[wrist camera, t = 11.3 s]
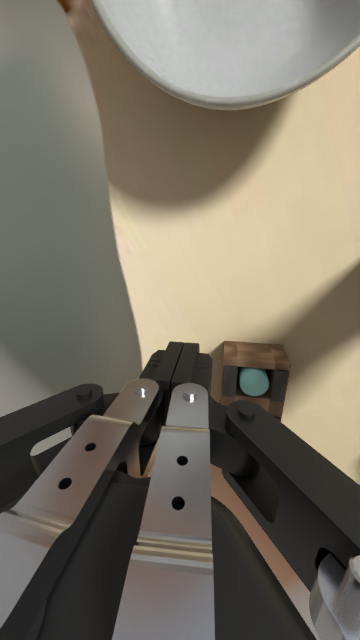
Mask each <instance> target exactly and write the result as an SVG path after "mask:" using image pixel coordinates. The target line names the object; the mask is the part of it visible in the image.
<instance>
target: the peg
mask: <svg viewBox="0 0 360 640" xmlns="http://www.w3.org/2000/svg"><path fill="white" fill-rule="evenodd" d="M238 368H239V379H240V387H241V389H242V391H243V392H244V393H246V394H248V395H251V396H259V395H262V394H264V393H265V392H266V391H267V389H268V387H269V381H268V378H267V374H266V370H265V369H263V368H251V367H240V366H238Z"/></svg>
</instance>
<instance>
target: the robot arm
mask: <svg viewBox="0 0 360 640" xmlns="http://www.w3.org/2000/svg"><path fill="white" fill-rule="evenodd" d="M211 377H212V358H211V357H210V355H209V354H204V353H199V343H184V342H171V341H170V342H169V344H168V346H167V348H166V350H158V351H157V352H155V353H154V354H152V356H151V358H150V360H149V361H148V363H147V366H146V367H145V368H144V370H143V372H142V374H141V375H140V377H139V379H136V380H133V381H131V382H129V383H128V384H127V385H126V386H125V387H124V388H123V389H122V391H121V392H120V393H114V394H106V395H105V394H104V395H103V389H102V387H101V386H99V385H96V384H83V385H79V386H77V387H74V388H72V389H69V390H67V391H64V392H62V393H59V394H57V395H54V396H52V397H50V398H47V399H44V400H42V401H40V402H37V403H35V404H32V405H30V406H27V407H25V408H22V409H20V410H17V411H15V412H12V413H10V414H7V415H5V416H3V417H0V640H316V638H315V636H314V635H313V634H312V632H311V630H310V629H309V627H308V626H307V624H306V623H305V621H304V620H303V618H302V617H301V615H300V613H299V612H298V610H297V609H296V607H295V606H294V604H293V603H292V602H291V600H290V598H289V596H288V595H287V593H286V592H285V590H284V589H283V587H282V586H281V584H280V583H279V581H278V580H277V578H276V576H275V575H274V573H273V572H272V570H271V569H270V567H269V566H268V564H267V563H266V561H265V560H264V558H263V556H262V555H261V553H260V552H259V550H258V549H257V547H256V546H255V544H254V543H253V541H252V540H251V538H250V536H249V535H248V533H247V532H246V530H245V529H244V527H243V526H242V524H241V523H240V521H239V520H238V519H237V518H236V517H235V515H234V514H233V513H232V512H231V511H230V510H229V509H228V508H227V507H226V506H225V505H223V504H222V503H221V502H219V501H218V500H217V499H215V498H214V497H212V496H211V475H210V463H211V464H213V465H215V466H217V467H219V468H221V469H222V474H223V476H224V478H225V479H226V481H227V482H228V484H229V485H230V486H231V488H232V489H233V490H234V492H235V493H236V494H237V496H238V497H239V498H240V499H241V501H242V502H243V503H244V505H245V506H246V508H247V509H248V510H249V511H250V513H251V514H252V515H253V517H254V518H255V519H256V521H257V522H258V523H259V525H260V526H261V527H262V529H263V530H264V531H265V533H266V534H267V535H268V537H269V538H270V539H271V541H272V542H273V543H274V545H275V546H276V547H277V549H278V550H279V551H280V553H281V554H282V555H283V557H284V558H285V559H286V561H287V562H288V563H289V565H290V566H291V567H292V569H293V570H294V571H295V573H296V574H297V575H298V577H299V578H300V579H301V581H302V582H303V583H304V584H305V586H306V587H307V589H308V590H309V591H310V598H309V609H310V615H311V619H312V622H313V625H314V628H315V630H316V632H317V634H318V636H319V638H320V640H360V485H358V484H357V483H356V482H355V481H353V480H352V479H351V478H350V477H348V476H347V475H346V474H345V473H343V472H342V471H341V470H340V469H338V468H337V467H336V466H335V465H333V464H332V463H331V462H330V461H328V460H327V459H326V458H325V457H323V456H322V455H321V454H320V453H318V452H317V451H316V450H315V449H313V448H312V447H311V446H310V445H308V444H307V443H306V442H305V441H303V440H302V439H301V438H300V437H298V436H297V435H296V434H295V433H293V432H292V431H291V430H290V429H288V428H287V427H286V426H285V425H284V424H282V423H281V422H280V421H279V420H277V419H276V418H275V417H274V416H272V415H271V414H270V413H269V412H267V411H266V410H265V409H264V408H262V407H261V406H260V405H258V404H256V403H254V402H251V401H246V400H238V401H234V402H232V403H230V404H229V405H228V406H225V405H222V404H220V403H218V402H216V401H215V400H214V399H213V398H212V397H211V395H210V391H211ZM68 427H71V433H72V437H70V438H68V439H67V440H65V441H63V442H61V443H59V444H57V445H55V446H53V447H51V448H50V449H47V450H46V451H44V452H42V453H40V454H38V455H36V456H30V452H31V449H32V448H33V446H34V445H35V444H36V443H38V442H40V441H41V440H44V439H46V438H47V437H50V436H52V435H54V434H56V433H58V432H60V431H62V430H64V429H66V428H68ZM154 459H155V462H154V465H153V470H152V475H151V477H148V478H147V476H148V474H149V471H150V469H151V466H152V464H153V461H154Z"/></svg>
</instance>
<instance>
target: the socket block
mask: <svg viewBox="0 0 360 640" xmlns="http://www.w3.org/2000/svg"><path fill="white" fill-rule="evenodd" d="M238 366H240V367H251V368H263V369H265V370H266V374H267V378H268V381H269V387H268V389H267V391H266V392H265V393H264V394H262V395H259V396H251V395H248V394H246V393H244V392H243V391H242V389H241V387H240V379H239V374H237V371H238ZM290 366H291V364H290V362H289V360H288V357H287V355H286V353H285V351H284V349H283V346H282V345H274V344H260V343H246V342H232V341H224V351H223V366H222V381H221V396H220V404H222V405H225V406H228V405H229V404H230V403H232V402H234V401H238V400H246V401H251V402H254V403H256V404H258V405H260V406H261V407H262V408H264V409H265V410H266V411H267V412H269V413H270V414H271V415H272V416H274V417H275V418H276V419H277V420H279V421H280V422H281V417H282V411H283V406H284V400H285V394H286V389H287V383H288V377H289V372H290Z"/></svg>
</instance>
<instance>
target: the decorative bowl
mask: <svg viewBox="0 0 360 640" xmlns="http://www.w3.org/2000/svg"><path fill="white" fill-rule="evenodd" d="M91 2H92V4H93V6H94V9H95V11H96V13H97V15H98V17H99V19H100V20H101V22H102V24H103V26H104V28H105V29H106V31H107V33H108V34H109V36H110V37H111V39H112V40H113V42H114V43H115V44H116V46H117V47H118V49H119V50H120V51H121V53H122V54H123V55H124V56H125V57H126V59H127V60H128V61H129V62H130V63H131V64H132V65H133V66H134V67H135V68H136V69H137V70H138V71H139V72H140V73H141V74H142V75H143V76H144V77H145V78H147V79H148V80H149V81H150V82H152V83H153V84H154V85H156V86H157V87H158V88H160V89H161V90H163V91H164V92H166V93H168V94H169V95H171V96H173V97H175V98H177V99H179V100H182V101H184V102H187V103H189V104H192V105H195V106H199V107H203V108H208V109H215V110H242V109H249V108H254V107H259V106H263V105H266V104H269V103H272V102H275V101H278V100H280V99H282V98H285V97H287V96H289V95H291V94H293V93H295V92H297V91H299V90H301V89H303V88H305V87H306V86H308V85H310V84H311V83H313V82H315V81H316V80H318V79H319V78H321V77H322V76H324V75H325V74H326V73H328V72H329V71H331V70H332V69H333V68H335V67H336V66H337V65H338V64H340V63H341V62H342V61H343V60H345V59H346V58H347V57H348V56H349V55H350V54H351V53H352V52H354V51H355V50H356V49H357V48H358V47H359V46H360V0H91Z"/></svg>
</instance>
